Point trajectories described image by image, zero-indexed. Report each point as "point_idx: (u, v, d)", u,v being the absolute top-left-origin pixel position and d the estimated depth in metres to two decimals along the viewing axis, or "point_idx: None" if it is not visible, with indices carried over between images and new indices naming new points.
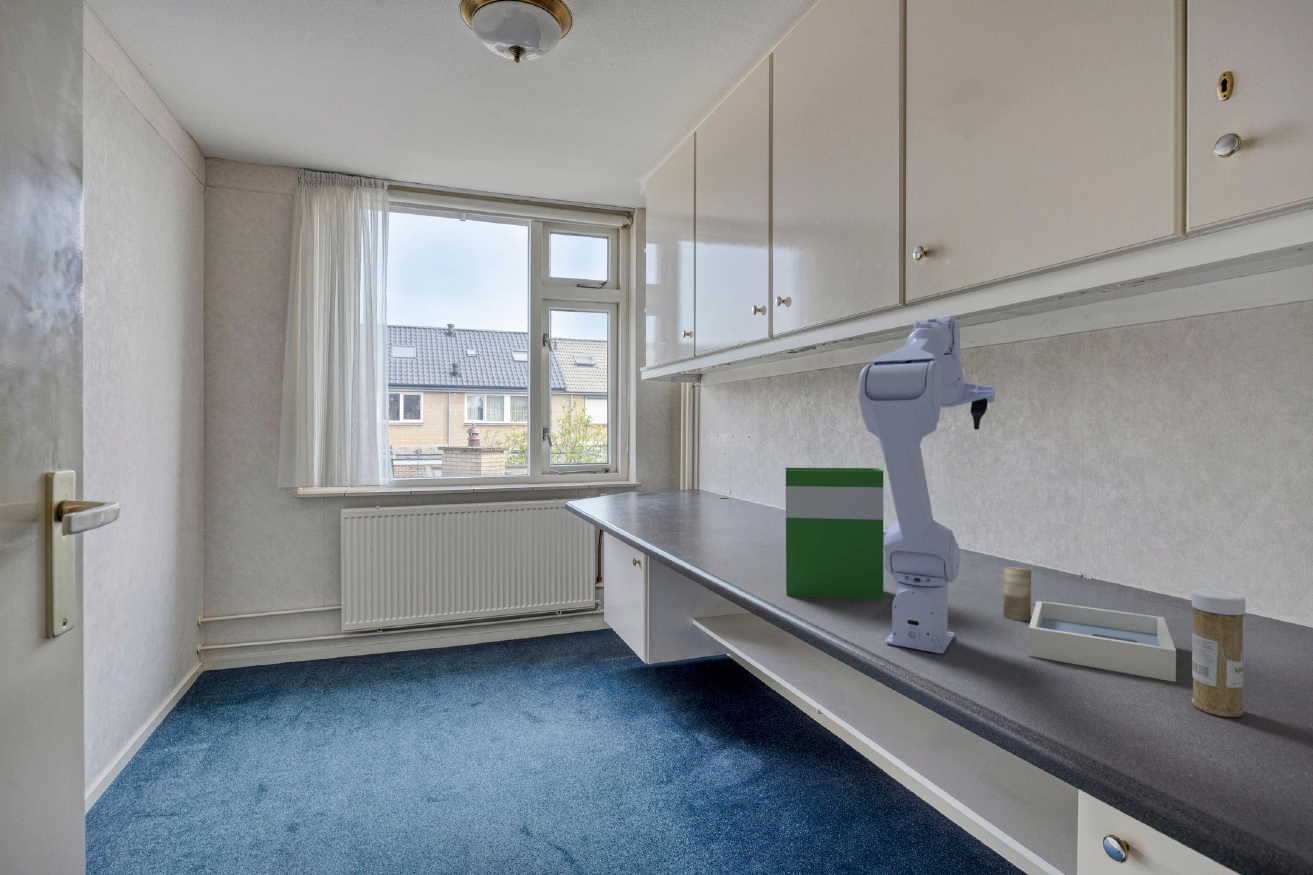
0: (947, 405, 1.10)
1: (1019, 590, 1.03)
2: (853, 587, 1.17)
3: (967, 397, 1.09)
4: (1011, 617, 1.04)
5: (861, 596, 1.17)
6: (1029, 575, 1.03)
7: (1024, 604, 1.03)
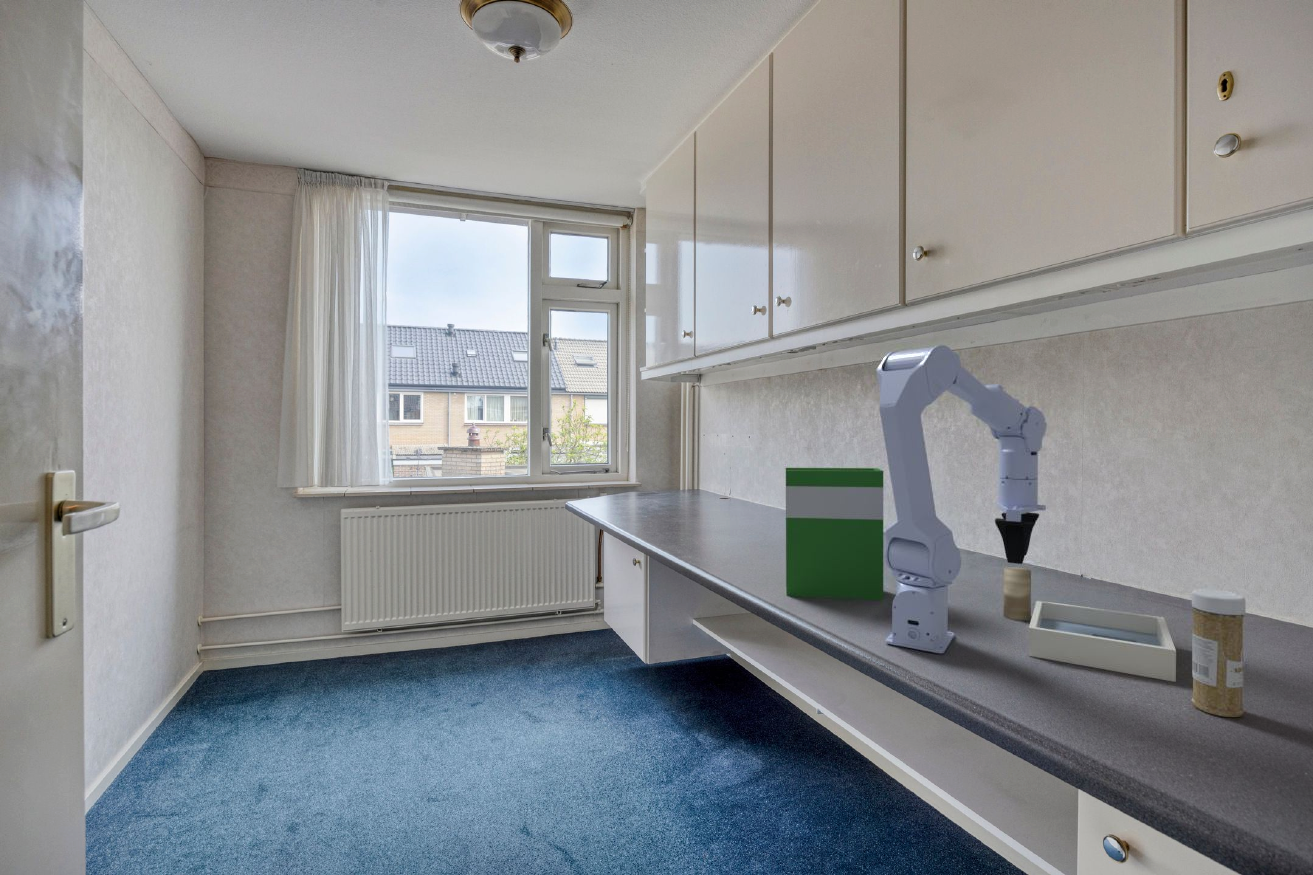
0: (997, 504, 1.06)
1: (1019, 590, 1.03)
2: (853, 587, 1.17)
3: None
4: (1011, 617, 1.04)
5: (861, 596, 1.17)
6: (1029, 575, 1.03)
7: (1024, 604, 1.03)
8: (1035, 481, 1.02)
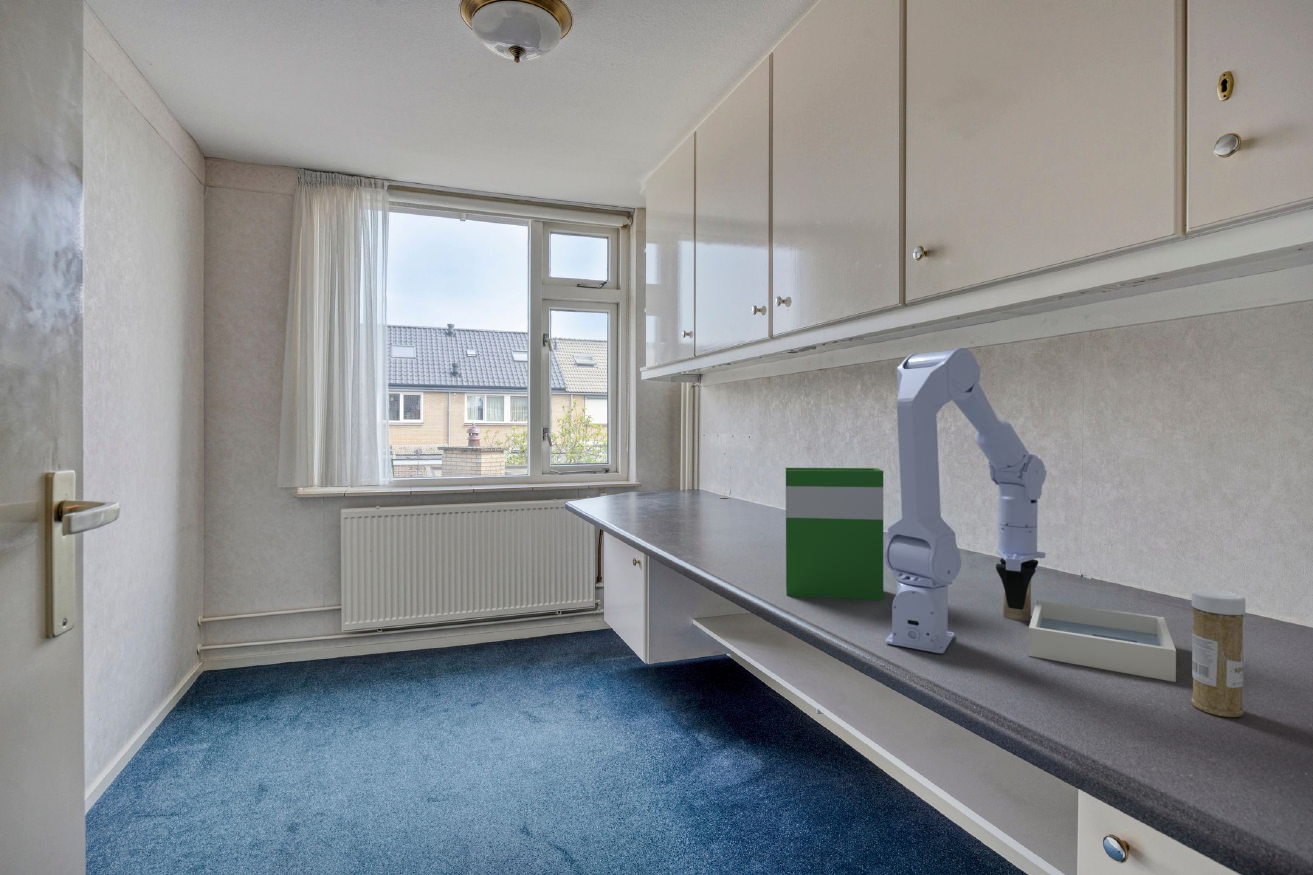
0: None
1: None
2: (853, 587, 1.17)
3: None
4: (1011, 617, 1.04)
5: (861, 596, 1.17)
6: None
7: (1024, 604, 1.03)
8: (1035, 529, 1.02)
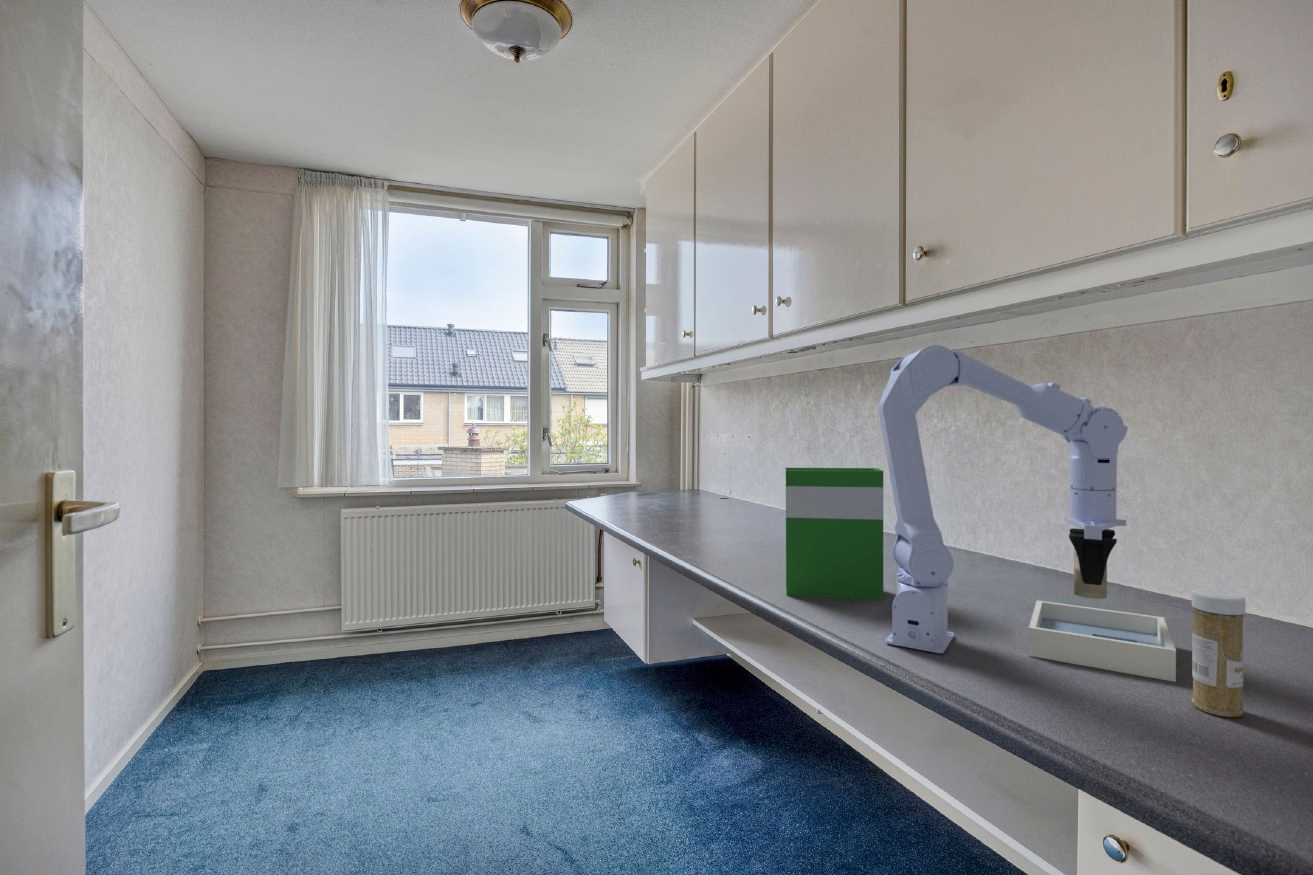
0: (1067, 518, 0.93)
1: None
2: (853, 587, 1.17)
3: None
4: (1083, 595, 0.91)
5: (861, 596, 1.17)
6: None
7: None
8: (1114, 492, 0.89)
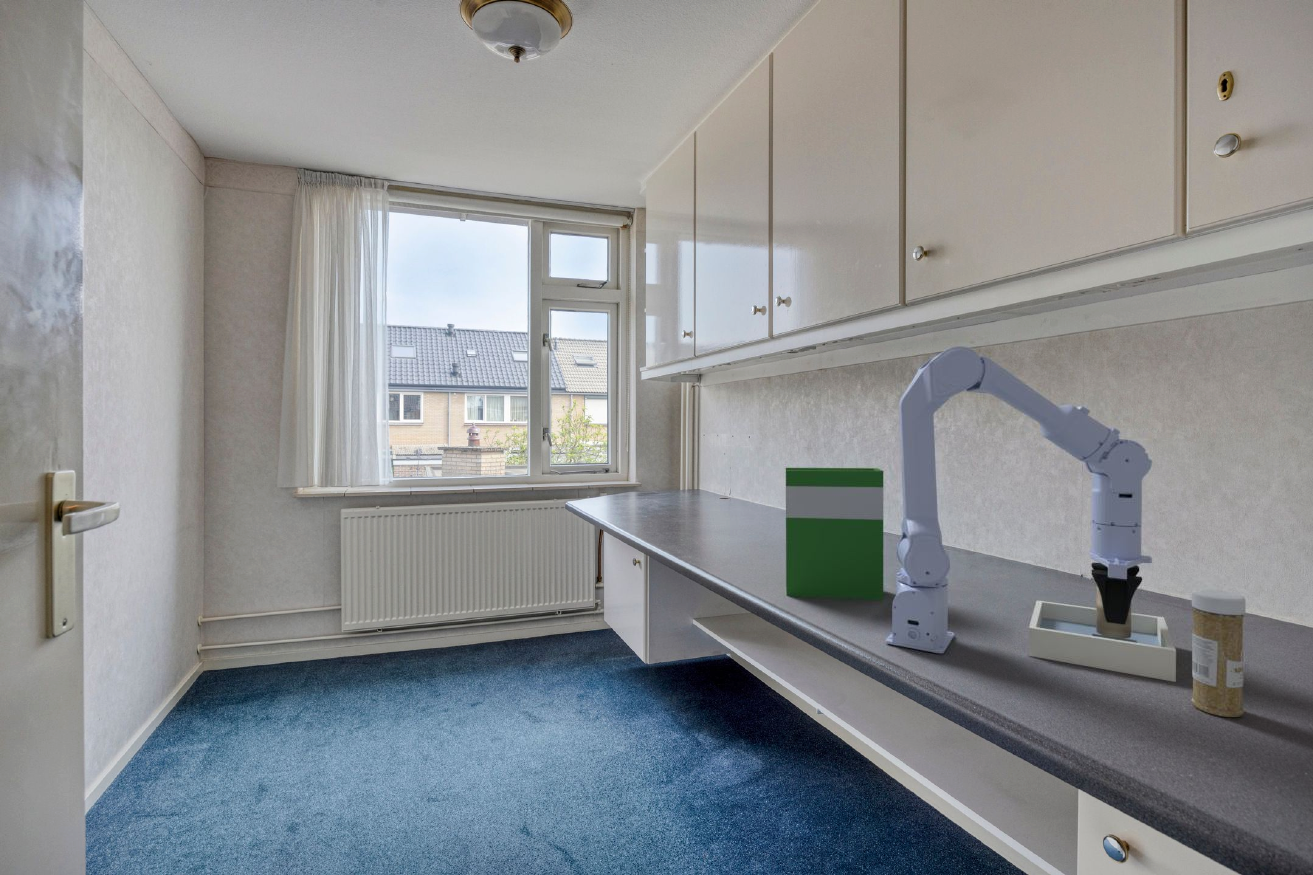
0: (1089, 553, 0.90)
1: None
2: (853, 587, 1.17)
3: None
4: (1106, 634, 0.88)
5: (861, 596, 1.17)
6: None
7: None
8: (1139, 528, 0.86)
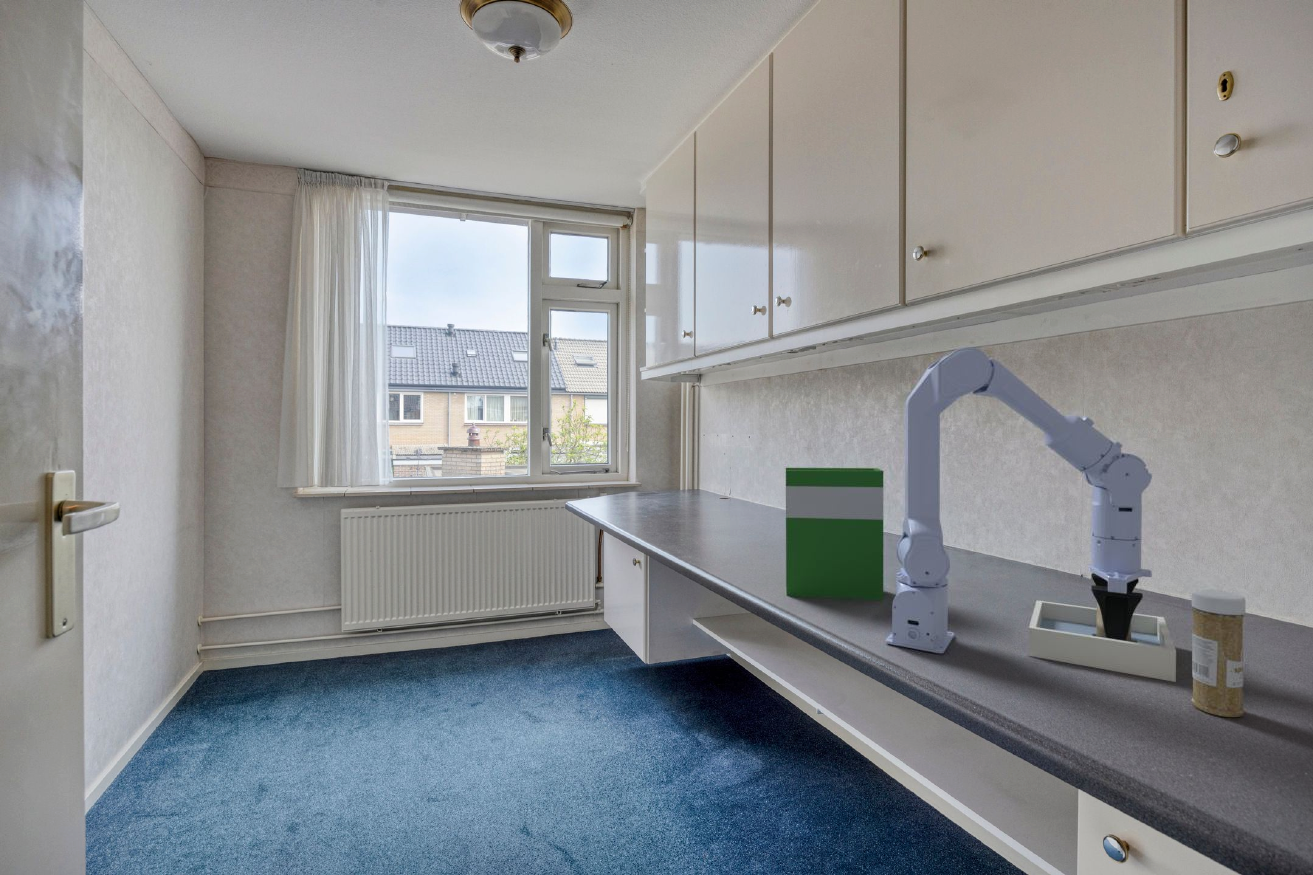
0: (1089, 566, 0.90)
1: None
2: (853, 587, 1.17)
3: None
4: None
5: (861, 596, 1.17)
6: None
7: None
8: (1139, 542, 0.86)
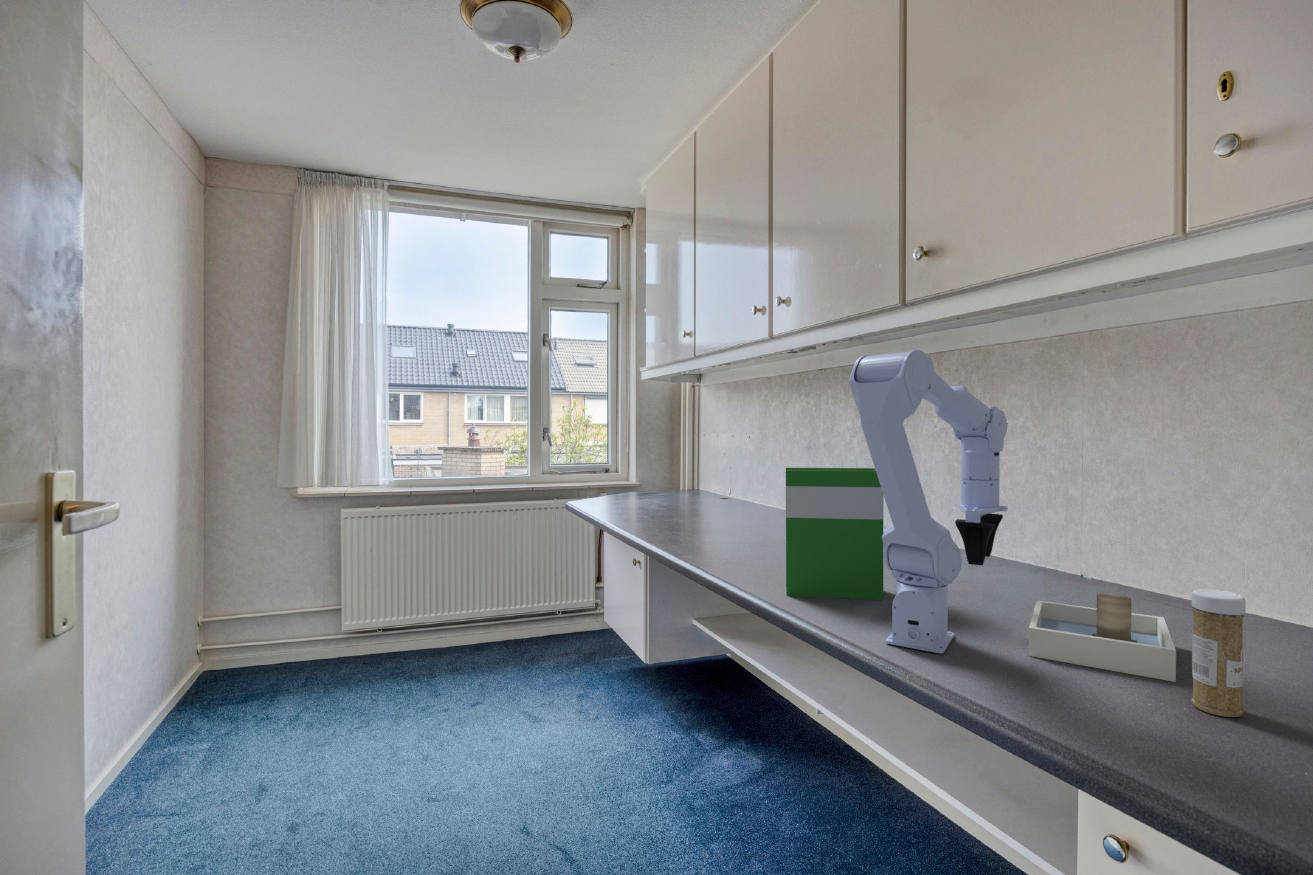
0: (959, 505, 1.05)
1: (1117, 621, 0.87)
2: (853, 587, 1.17)
3: None
4: None
5: (861, 596, 1.17)
6: (1129, 604, 0.87)
7: (1123, 638, 0.87)
8: (996, 482, 1.01)
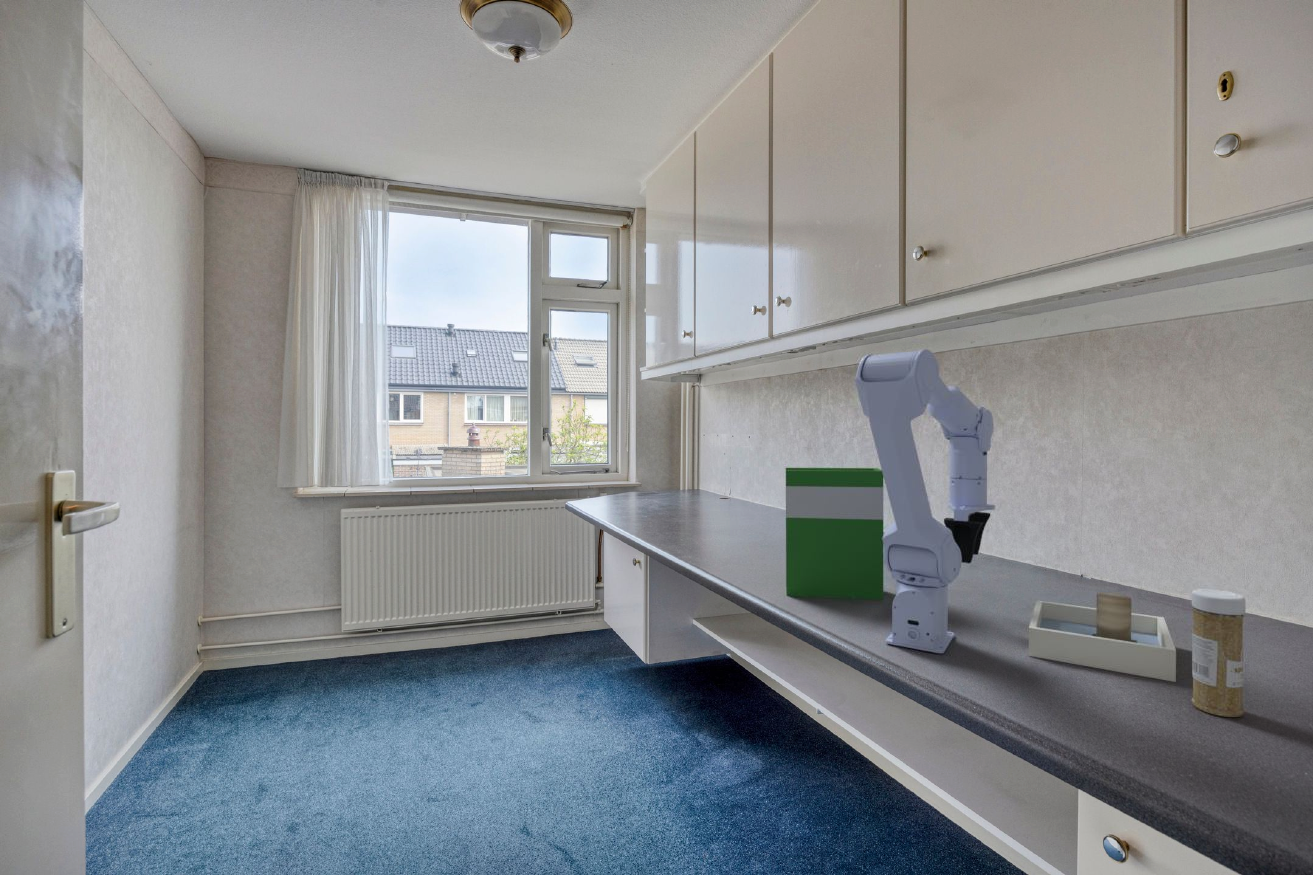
0: (948, 504, 1.07)
1: (1117, 621, 0.87)
2: (853, 587, 1.17)
3: None
4: None
5: (861, 596, 1.17)
6: (1129, 604, 0.87)
7: (1123, 638, 0.87)
8: (984, 481, 1.03)
